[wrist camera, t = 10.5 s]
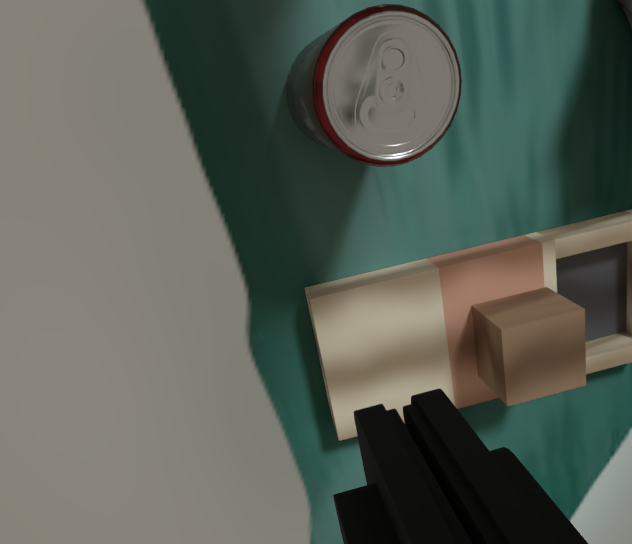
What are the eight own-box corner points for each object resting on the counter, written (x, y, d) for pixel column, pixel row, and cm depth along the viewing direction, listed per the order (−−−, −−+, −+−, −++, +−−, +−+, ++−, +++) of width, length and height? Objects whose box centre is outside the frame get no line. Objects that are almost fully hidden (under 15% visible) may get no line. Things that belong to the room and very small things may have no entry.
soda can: (384, 151, 38) (453, 173, 26) (281, 143, 36) (308, 162, 25) (397, 40, 36) (479, 12, 24) (289, 27, 34) (322, -9, 23)
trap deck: (304, 287, 40) (309, 299, 37) (636, 208, 42) (660, 214, 40) (332, 422, 44) (339, 440, 41) (634, 342, 46) (656, 355, 44)
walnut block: (471, 305, 40) (501, 329, 35) (546, 287, 40) (584, 308, 36) (478, 375, 42) (507, 406, 37) (549, 357, 42) (586, 385, 38)
